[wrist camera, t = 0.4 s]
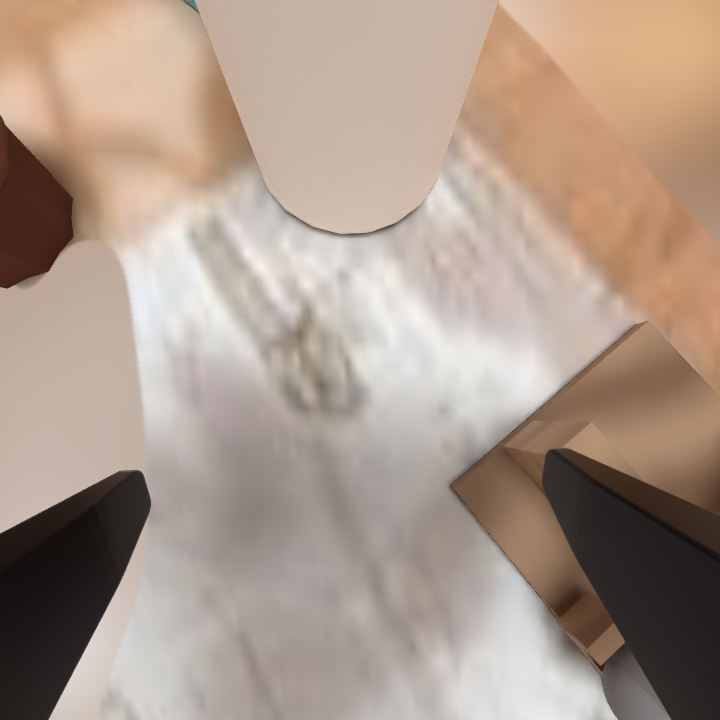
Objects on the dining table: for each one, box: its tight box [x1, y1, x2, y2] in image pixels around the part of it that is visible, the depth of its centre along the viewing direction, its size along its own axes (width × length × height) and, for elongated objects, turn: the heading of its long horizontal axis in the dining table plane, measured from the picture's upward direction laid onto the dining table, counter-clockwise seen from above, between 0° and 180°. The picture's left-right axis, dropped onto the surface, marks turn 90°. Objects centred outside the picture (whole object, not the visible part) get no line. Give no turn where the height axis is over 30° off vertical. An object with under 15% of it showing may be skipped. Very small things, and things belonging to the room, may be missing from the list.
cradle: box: [450, 321, 720, 677], centre depth 19 cm, size 17×16×6 cm
